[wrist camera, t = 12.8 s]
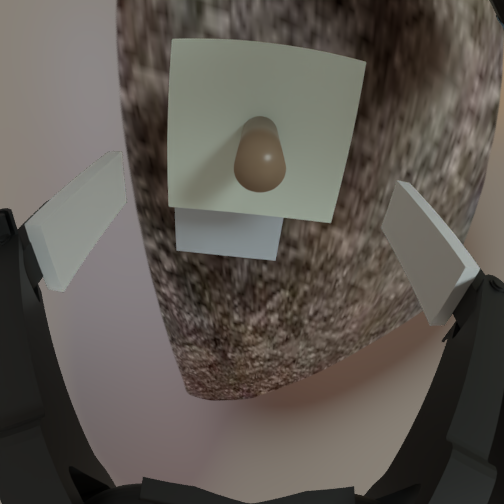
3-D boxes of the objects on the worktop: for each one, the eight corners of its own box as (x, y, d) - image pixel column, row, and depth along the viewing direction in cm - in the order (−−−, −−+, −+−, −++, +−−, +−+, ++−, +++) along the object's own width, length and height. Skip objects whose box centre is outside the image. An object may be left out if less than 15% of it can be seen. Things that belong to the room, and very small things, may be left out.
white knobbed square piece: (352, 61, 23) (416, 67, 13) (323, 204, 32) (352, 284, 22) (183, 41, 22) (128, 31, 12) (177, 189, 32) (139, 264, 21)
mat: (292, 164, 42) (292, 166, 42) (275, 258, 52) (275, 260, 52) (175, 154, 41) (174, 155, 41) (177, 248, 51) (176, 250, 51)
